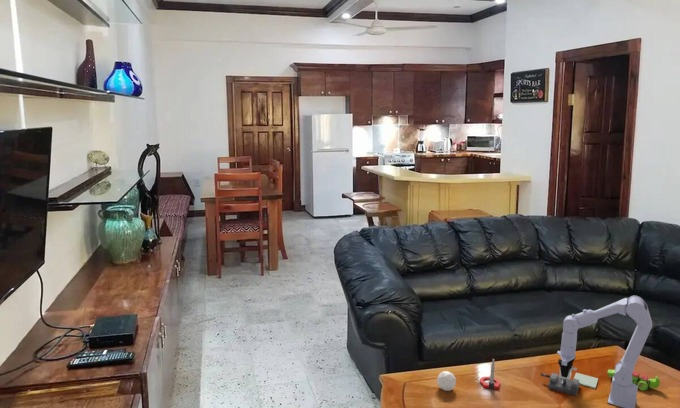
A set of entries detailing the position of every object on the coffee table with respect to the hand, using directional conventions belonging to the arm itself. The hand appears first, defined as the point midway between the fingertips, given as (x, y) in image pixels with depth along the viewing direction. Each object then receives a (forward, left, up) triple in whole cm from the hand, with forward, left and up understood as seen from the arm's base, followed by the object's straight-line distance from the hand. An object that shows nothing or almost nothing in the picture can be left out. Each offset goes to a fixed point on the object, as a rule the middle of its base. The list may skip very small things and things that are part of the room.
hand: (565, 374), depth 221 cm
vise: (+2, 0, -6) cm, 6 cm away
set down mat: (-7, -11, -6) cm, 14 cm away
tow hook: (+27, +15, -6) cm, 32 cm away
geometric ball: (+41, +30, -6) cm, 51 cm away
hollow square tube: (0, 0, -1) cm, 1 cm away
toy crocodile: (-24, -20, -6) cm, 32 cm away
